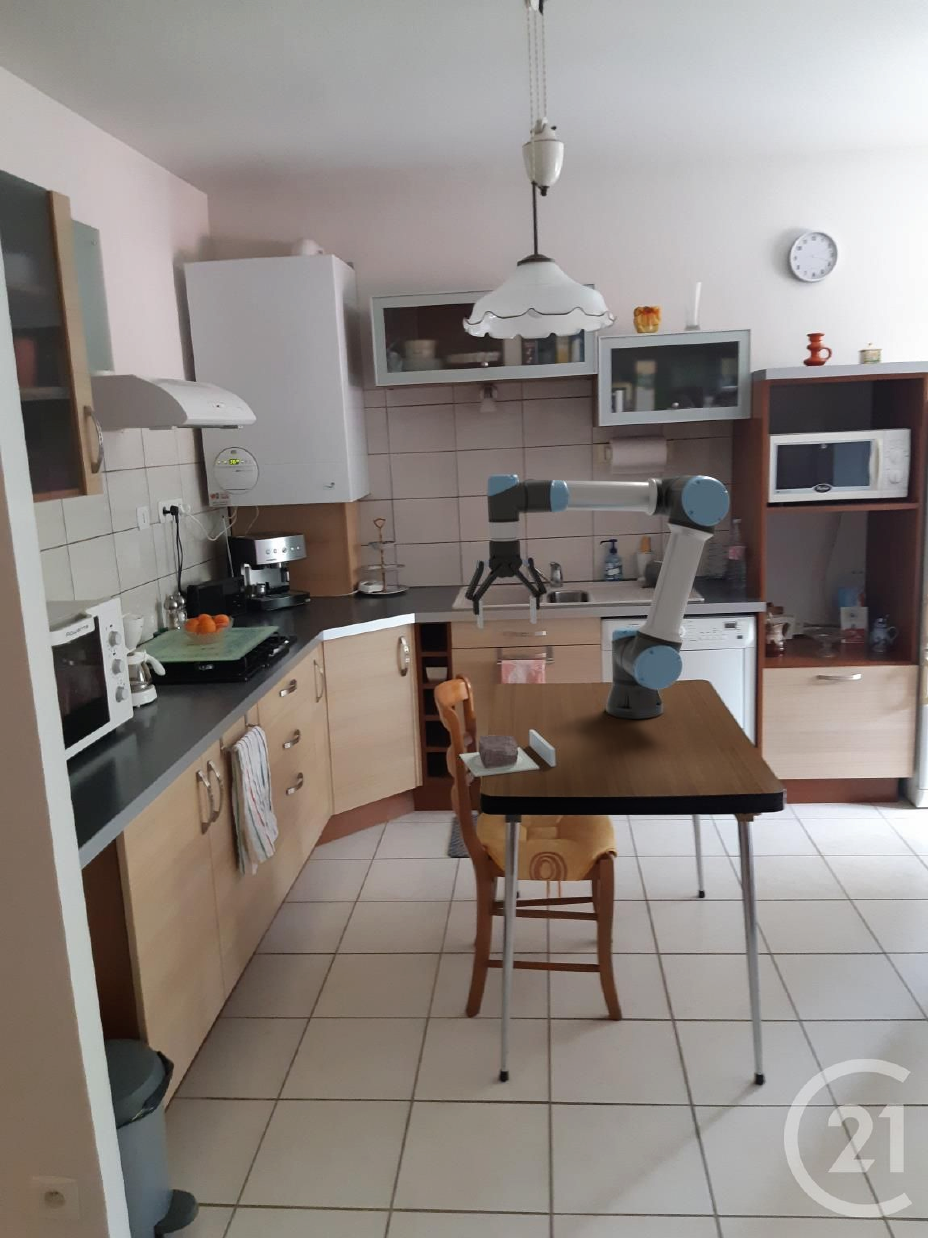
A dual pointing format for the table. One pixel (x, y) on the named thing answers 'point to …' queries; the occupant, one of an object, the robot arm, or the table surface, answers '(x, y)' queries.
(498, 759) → the stone
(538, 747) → the acrylic wall
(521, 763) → the rest mat
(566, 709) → the table surface
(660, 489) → the robot arm
